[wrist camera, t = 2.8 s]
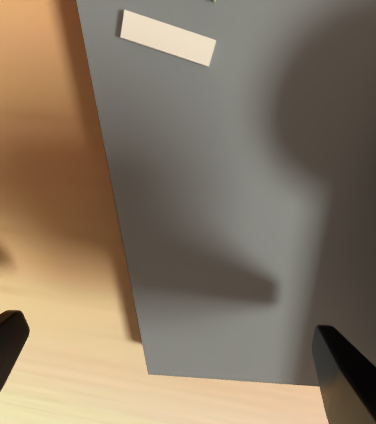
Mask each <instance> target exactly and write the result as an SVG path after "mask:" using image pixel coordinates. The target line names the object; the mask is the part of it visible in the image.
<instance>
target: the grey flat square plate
mask: <svg viewBox="0 0 376 424" xmlns="http://www.w3.org/2000/svg"><path fill="white" fill-rule="evenodd" d="M76 2H77V7H78V13H79V18H80V23H81V28H82V33H83V39H84V44H85V49H86V54H87V59H88V64H89V70H90V75H91V80H92V85H93V90H94V96H95V101H96V106H97V111H98V116H99V122H100V127H101V132H102V137H103V142H104V147H105V153H106V158H107V163H108V168H109V173H110V179H111V184H112V189H113V194H114V199H115V204H116V210H117V215H118V220H119V225H120V230H121V236H122V241H123V246H124V251H125V256H126V262H127V267H128V272H129V277H130V282H131V287H132V293H133V298H134V303H135V308H136V313H137V319H138V324H139V329H140V334H141V339H142V345H143V350H144V355H145V360H146V365H147V370H148V374H151V375H166V376H180V377H194V378H208V379H222V380H236V381H250V382H264V383H279V384H293V385H307V386H319V381H318V377H317V373H316V368H315V364H314V360H313V355H312V348H311V347H312V340H313V335H314V330H315V327H316V326H317V325H331V326H333V327H334V328H336V329H337V330H338V331H339V332H340V333H341V334H342V335H343V336H344V337H345V338H346V339H347V340H348V341H349V342H350V343H351V344H352V345H353V346H354V347H356V348H357V349H358V350H359V351H360V352H361V353H362V354H363V355H364V356H365V357H366V358H367V359H368V360H369V361H370V362H371V363H372V364H373V365H374V366H375V367H376V0H76Z"/></svg>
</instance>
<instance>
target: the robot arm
mask: <svg viewBox="0 0 376 424" xmlns="http://www.w3.org/2000/svg"><path fill="white" fill-rule="evenodd" d="M29 331H30V330H29V326H28V324H27V322H26V319H25V317H24V315H23V313H22V312H21V311H19V310H7V311H5V312H3V313H1V314H0V391H1V390H2V388H3V386H4V384H5V382H6V380H7V378H8V376H9V374H10V372H11V370H12V368H13V366H14V364H15V362H16V360H17V358H18V356H19V354H20V352H21V350H22V348H23V346H24V344H25V342H26V340H27V338H28V336H29ZM311 348H312V355H313V360H314V364H315V368H316V373H317V377H318V381H319V386H320V390H321V395H322V399H323V403H324V408H325V412H326V416H327V419H328V422H329V424H376V367H375V366H374V365H373V364H372V363H371V362H370V361H369V360H368V359H367V358H366V357H365V356H364V355H363V354H362V353H361V352H360V351H359V350H358V349H357V348H356V347H354V346H353V345H352V344H351V343H350V342H349V341H348V340H347V339H346V338H345V337H344V336H343V335H342V334H341V333H340V332H339V331H338V330H337V329H336V328H334V327H333V326H331V325H317V326H316V327H315V330H314V335H313V340H312V347H311Z"/></svg>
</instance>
